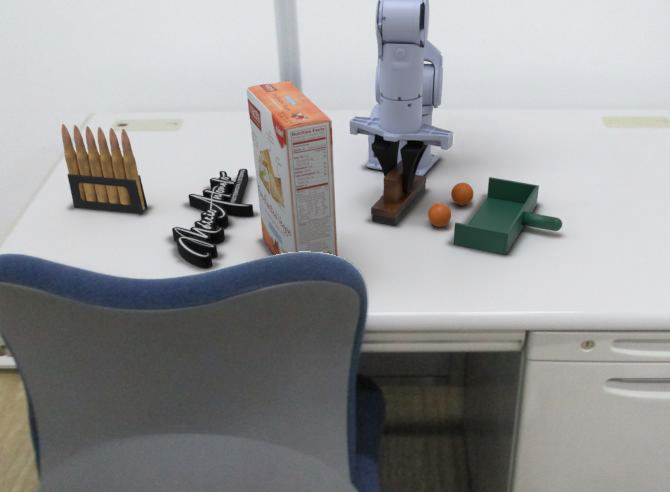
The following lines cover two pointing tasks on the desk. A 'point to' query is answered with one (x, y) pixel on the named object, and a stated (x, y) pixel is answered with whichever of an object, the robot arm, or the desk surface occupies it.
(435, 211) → the small orange ball
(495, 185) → the dustpan
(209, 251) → the nameplate
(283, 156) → the cracker box
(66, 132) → the ammunition clip
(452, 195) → the orange ball
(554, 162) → the desk surface
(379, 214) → the brush
